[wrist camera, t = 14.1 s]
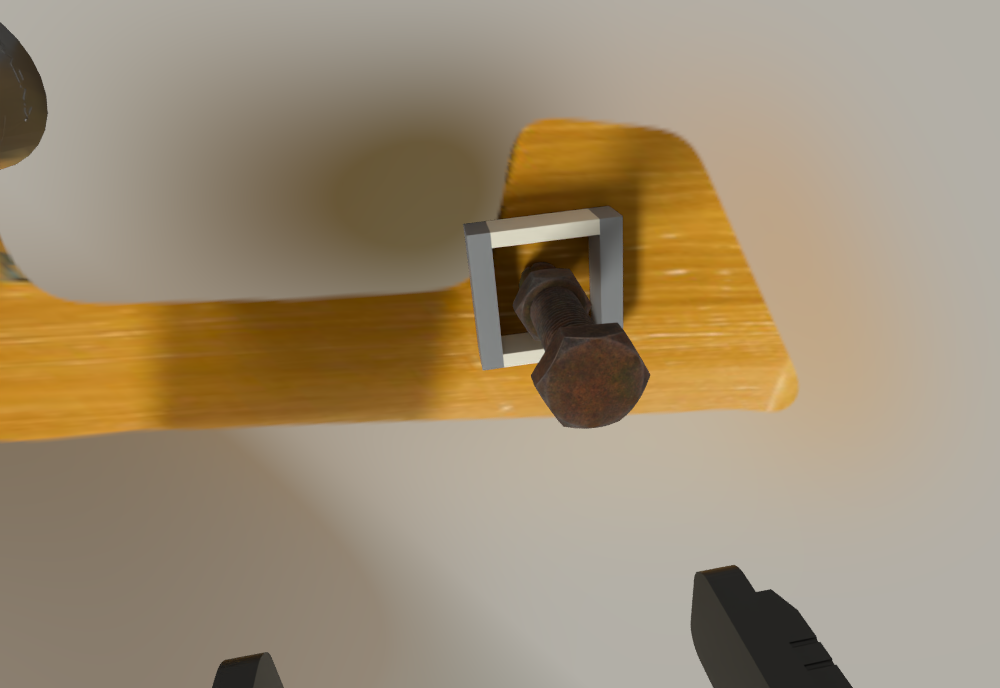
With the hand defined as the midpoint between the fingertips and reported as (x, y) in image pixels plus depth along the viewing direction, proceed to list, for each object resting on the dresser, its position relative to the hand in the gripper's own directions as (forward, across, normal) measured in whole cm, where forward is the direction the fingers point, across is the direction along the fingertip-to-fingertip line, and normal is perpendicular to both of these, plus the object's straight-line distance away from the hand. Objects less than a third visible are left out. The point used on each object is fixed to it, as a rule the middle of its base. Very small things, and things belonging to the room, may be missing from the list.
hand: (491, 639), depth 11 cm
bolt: (+32, -7, +5) cm, 33 cm away
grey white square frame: (+32, -7, +5) cm, 33 cm away
